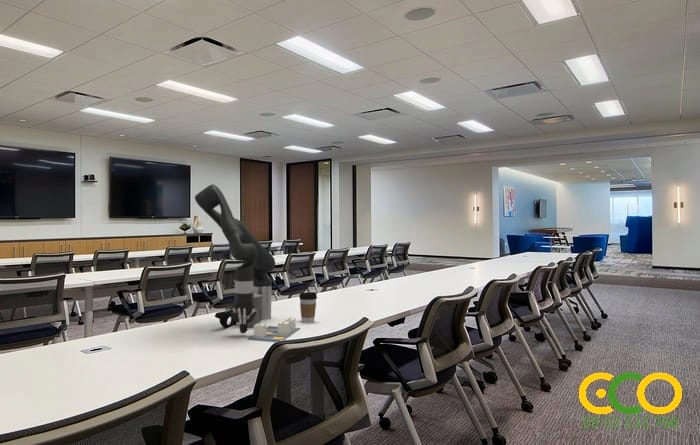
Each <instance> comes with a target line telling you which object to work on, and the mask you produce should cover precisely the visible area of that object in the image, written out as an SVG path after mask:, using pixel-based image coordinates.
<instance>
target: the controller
mask: <svg viewBox="0 0 700 445" xmlns="http://www.w3.org/2000/svg"><path fill="white" fill-rule="evenodd" d="M234 305H235V304H231V308H230V309H226V310H224V311H217V312H216V313H214V314H215V315H214V318H215V319H219V324H220V326H221V327H223V328H225V329H229V328H231V327H234V326H236V325H237V323H238V322H236V321H235V320H234V318H233V317H232V315H231V314H230V312H229V310H231V309H233V308H234ZM236 313H237V312H236ZM237 314H238V313H237ZM229 318H230V322H229V324H228V320H229Z"/></svg>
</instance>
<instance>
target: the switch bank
mask: <svg viewBox="0 0 700 445" xmlns="http://www.w3.org/2000/svg"><path fill="white" fill-rule="evenodd" d="M299 330H301V328H300V327H296V328H295V331H290V334H289V335H278V325H277V326H276V325H268V326H267V334H266V336H265V337H264V338H261V337H253V334H252V335H250V336H249V337H248V338H247V339H246V341H256V342H267V343H278V342H277V341H280V340H284V341H285V340H286V339H288V338H289V337H291V336H292V335H294V334H295V333H297V332H298V331H299Z"/></svg>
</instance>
